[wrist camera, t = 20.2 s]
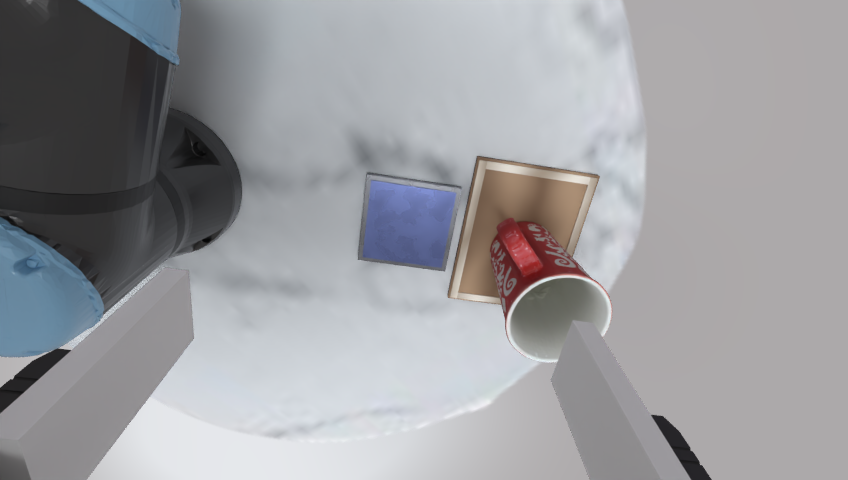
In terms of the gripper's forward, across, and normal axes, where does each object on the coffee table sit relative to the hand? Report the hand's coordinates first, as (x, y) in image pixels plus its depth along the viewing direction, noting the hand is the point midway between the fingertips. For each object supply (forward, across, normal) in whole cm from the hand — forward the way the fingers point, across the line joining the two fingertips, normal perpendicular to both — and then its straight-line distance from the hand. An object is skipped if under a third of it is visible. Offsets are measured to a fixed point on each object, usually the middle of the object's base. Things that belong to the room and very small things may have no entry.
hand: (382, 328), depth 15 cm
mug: (+31, +14, -9) cm, 35 cm away
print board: (+32, +14, -9) cm, 36 cm away
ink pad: (+32, +2, -9) cm, 33 cm away
